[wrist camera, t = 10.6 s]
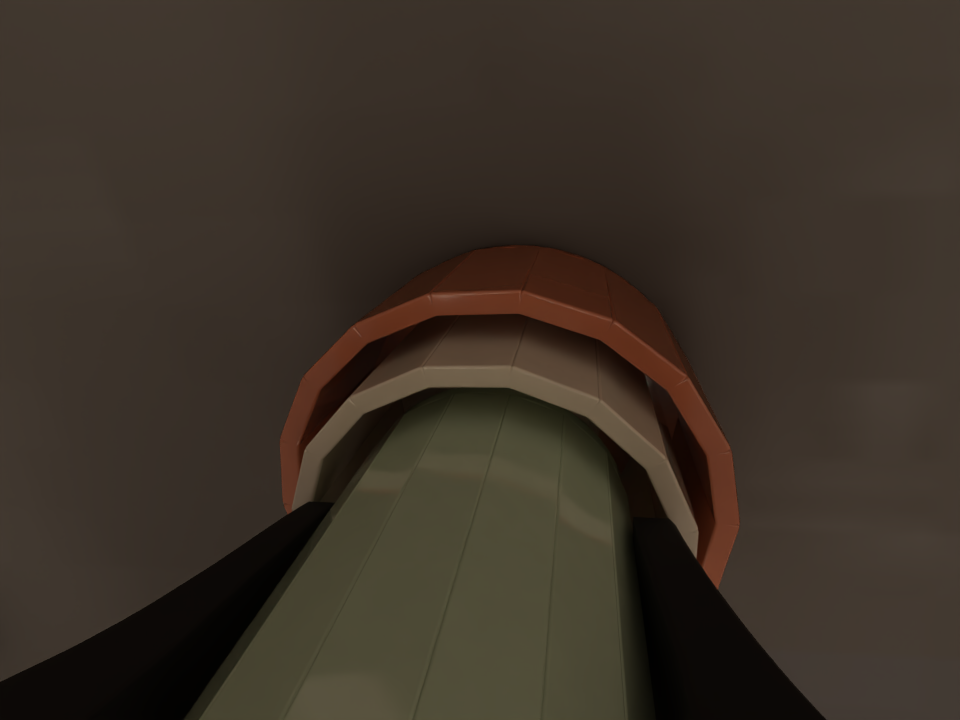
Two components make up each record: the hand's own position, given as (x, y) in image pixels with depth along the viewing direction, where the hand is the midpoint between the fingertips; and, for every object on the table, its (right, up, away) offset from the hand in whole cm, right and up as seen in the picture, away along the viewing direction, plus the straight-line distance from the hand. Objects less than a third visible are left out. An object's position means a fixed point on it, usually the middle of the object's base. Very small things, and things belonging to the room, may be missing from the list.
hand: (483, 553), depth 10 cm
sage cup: (0, +1, +1) cm, 2 cm away
